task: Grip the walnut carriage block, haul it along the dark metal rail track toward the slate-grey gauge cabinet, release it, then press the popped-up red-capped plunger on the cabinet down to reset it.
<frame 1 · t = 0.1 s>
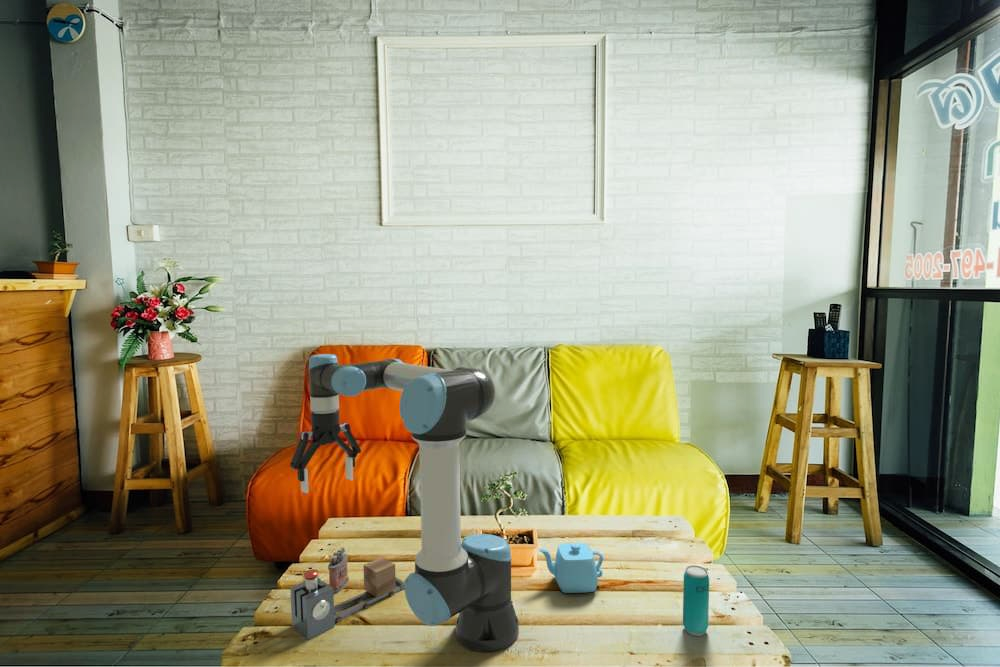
hand: (327, 485, 158), 28 cm above the table, fingers open, 13 cm apart
beverage can: (695, 631, 136), on the table
gauge plunger: (311, 586, 139), point 10 cm above the table, slide at 0.0 cm
carriage: (379, 576, 153), point 5 cm above the table, slide at 0.0 cm
red pack with sticks: (339, 587, 158), on the table
rail track: (350, 608, 147), on the table
teapot: (570, 585, 157), on the table
gauge cabinet: (313, 626, 140), resting in rail track
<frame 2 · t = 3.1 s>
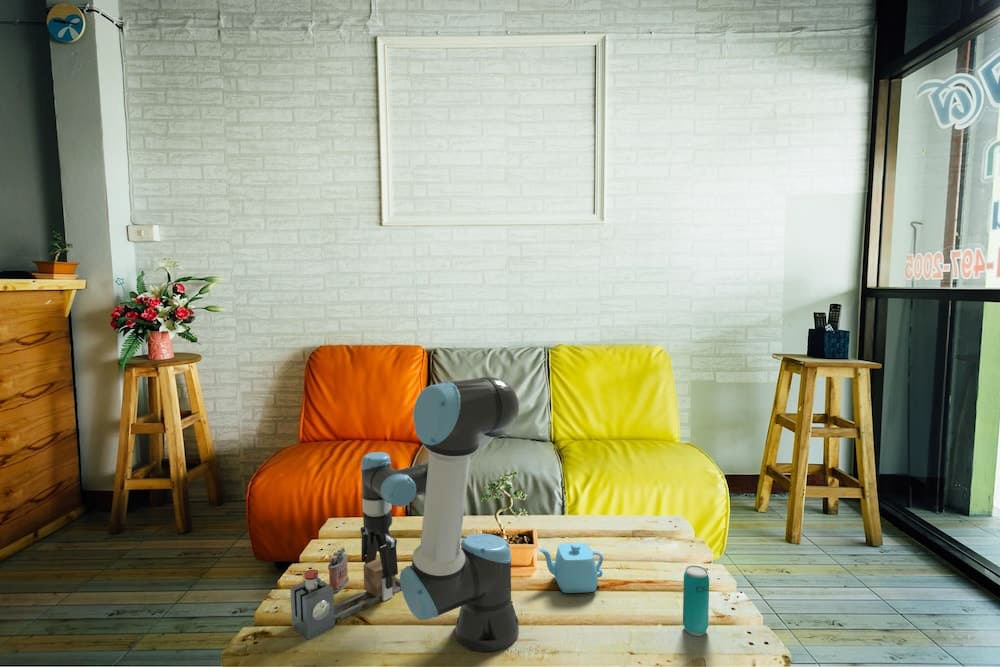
hand: (380, 593, 154), 0 cm above the table, fingers open, 6 cm apart
carriage: (379, 576, 153), point 5 cm above the table, slide at 0.0 cm, touching gripper
everything else where it was.
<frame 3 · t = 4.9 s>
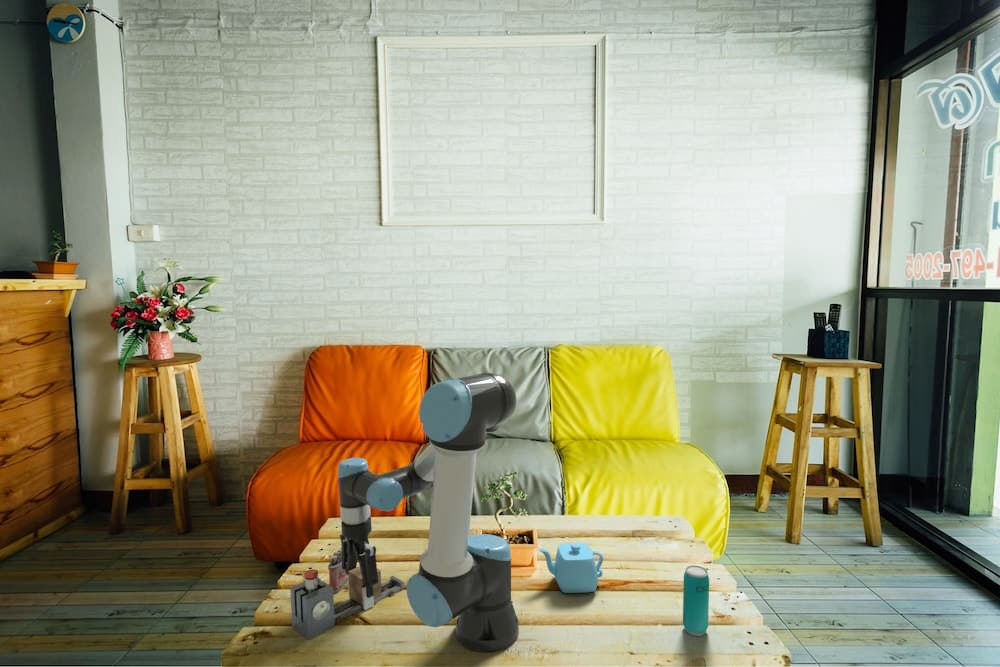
hand: (361, 601, 149), 0 cm above the table, fingers open, 6 cm apart
carriage: (364, 583, 150), point 5 cm above the table, slide at 4.6 cm, touching gripper
everything else where it was.
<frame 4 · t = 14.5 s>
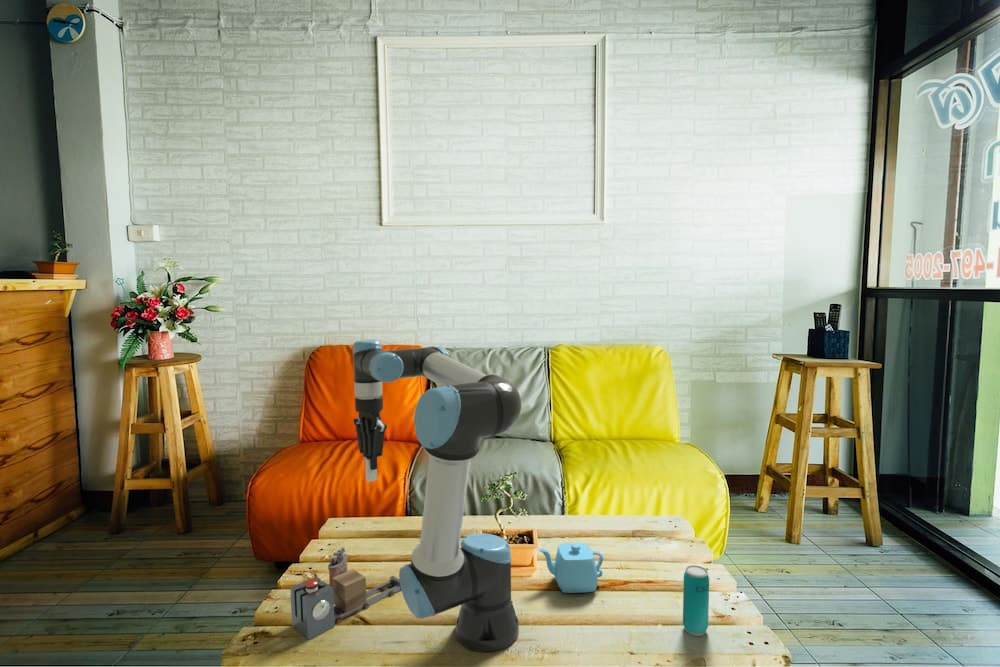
hand: (371, 479, 158), 29 cm above the table, fingers closed
gauge plunger: (312, 595, 139), point 8 cm above the table, slide at -2.4 cm
carriage: (349, 590, 146), point 5 cm above the table, slide at 9.2 cm
everything else where it was.
at the end: carriage slide at 9.2 cm; gauge plunger slide at -2.4 cm; the gripper is holding nothing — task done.
